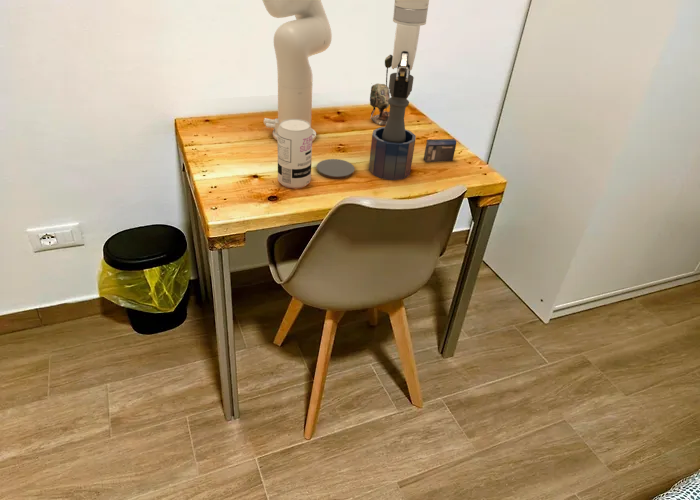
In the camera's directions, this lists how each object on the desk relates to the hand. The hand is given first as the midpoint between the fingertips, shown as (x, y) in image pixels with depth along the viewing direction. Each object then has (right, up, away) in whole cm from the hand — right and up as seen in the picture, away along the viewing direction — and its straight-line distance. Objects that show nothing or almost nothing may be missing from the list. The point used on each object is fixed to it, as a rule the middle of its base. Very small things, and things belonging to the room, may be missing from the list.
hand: (400, 90), depth 128 cm
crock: (-2, -17, +13) cm, 22 cm away
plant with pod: (-2, +2, +41) cm, 41 cm away
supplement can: (-26, -22, +4) cm, 34 cm away
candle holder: (-2, -18, +13) cm, 22 cm away
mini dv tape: (+12, -14, +20) cm, 27 cm away
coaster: (-16, -18, +10) cm, 26 cm away
